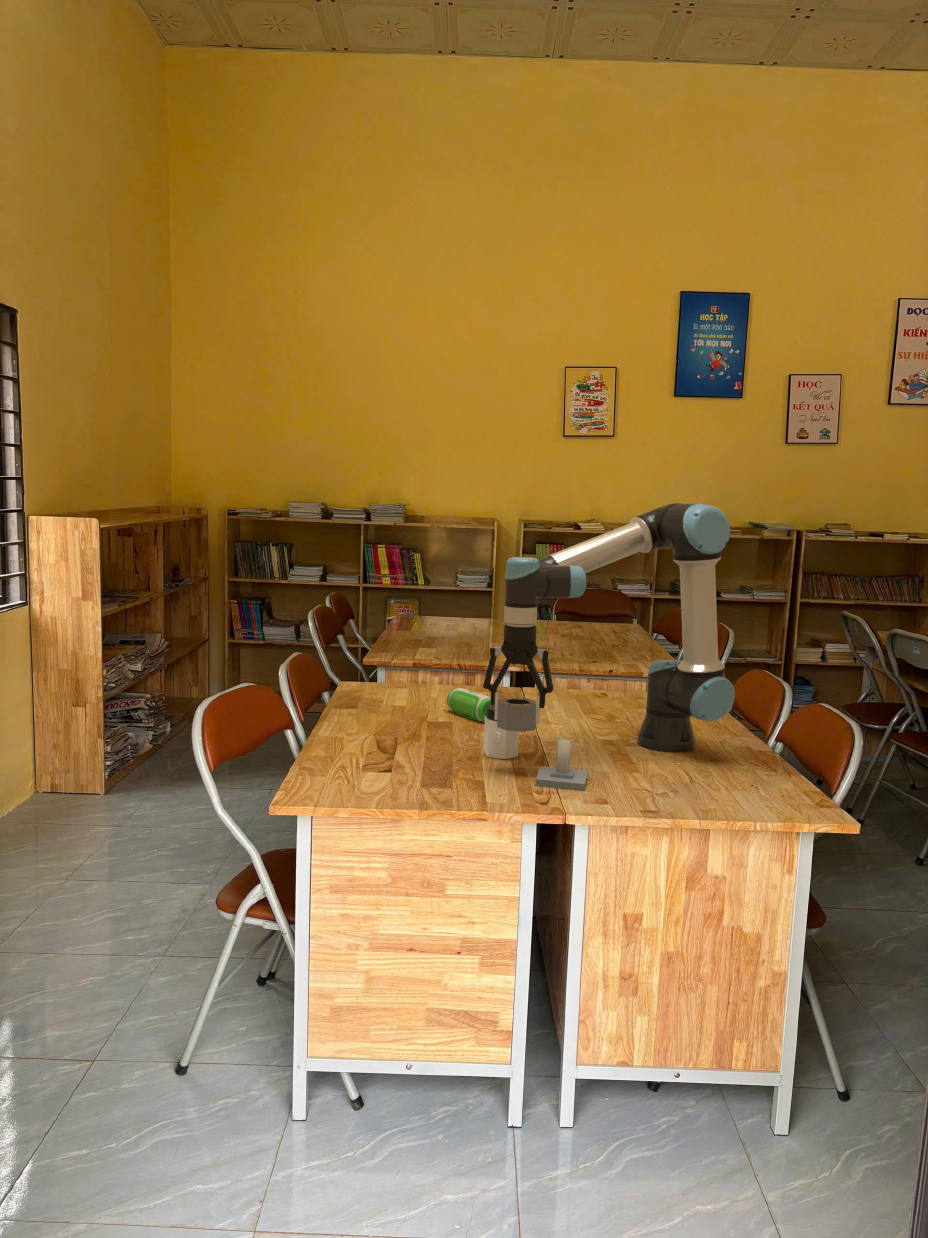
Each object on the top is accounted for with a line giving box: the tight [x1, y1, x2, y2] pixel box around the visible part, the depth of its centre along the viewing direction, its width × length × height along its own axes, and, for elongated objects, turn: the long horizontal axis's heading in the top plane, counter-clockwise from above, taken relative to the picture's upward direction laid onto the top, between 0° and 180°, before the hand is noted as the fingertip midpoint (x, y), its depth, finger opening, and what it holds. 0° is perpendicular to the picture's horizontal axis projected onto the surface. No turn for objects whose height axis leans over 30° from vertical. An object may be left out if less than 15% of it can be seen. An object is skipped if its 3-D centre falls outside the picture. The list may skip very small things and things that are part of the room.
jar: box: [482, 705, 520, 760], centre depth 245 cm, size 9×8×12 cm
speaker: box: [446, 687, 491, 723], centre depth 285 cm, size 18×7×8 cm, turn 35°
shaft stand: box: [534, 738, 589, 791], centre depth 224 cm, size 11×11×10 cm
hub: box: [497, 696, 538, 733], centre depth 229 cm, size 9×9×6 cm
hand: (517, 720), depth 229 cm, fingers closed on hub, 9 cm apart
